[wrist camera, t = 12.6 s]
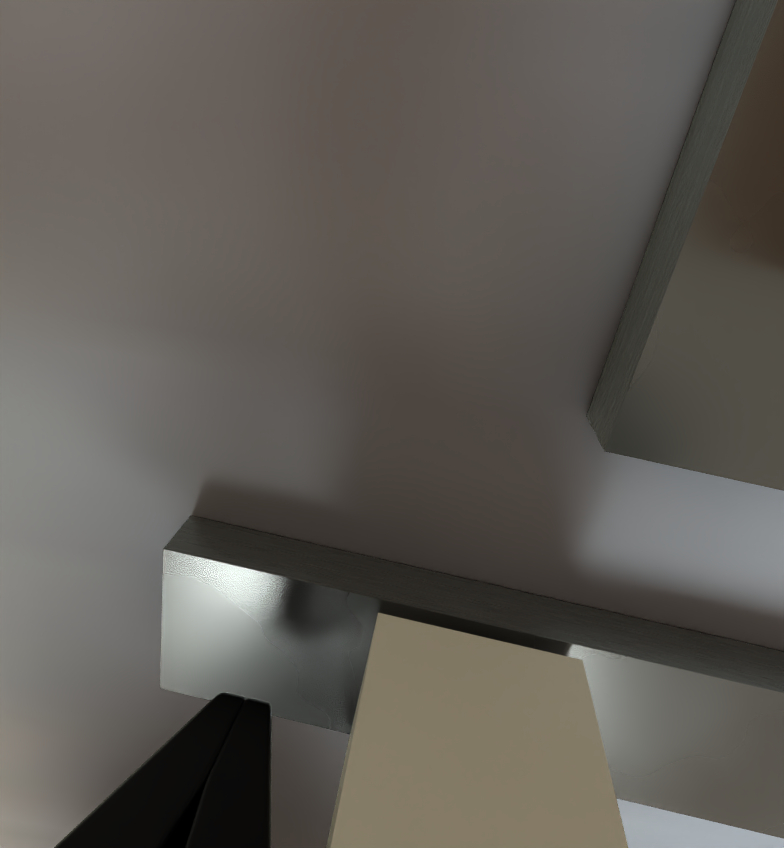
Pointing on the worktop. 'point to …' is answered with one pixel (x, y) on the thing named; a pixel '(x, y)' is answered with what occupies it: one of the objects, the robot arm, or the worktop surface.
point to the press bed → (712, 282)
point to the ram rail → (487, 617)
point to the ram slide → (472, 748)
